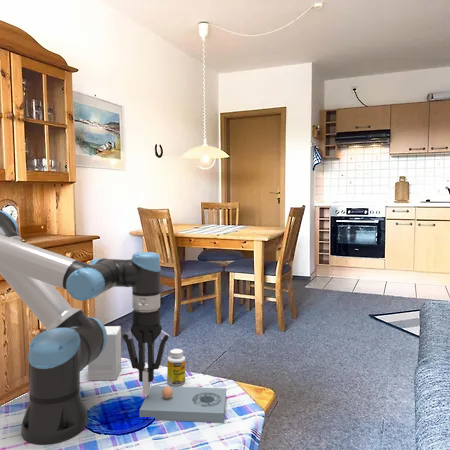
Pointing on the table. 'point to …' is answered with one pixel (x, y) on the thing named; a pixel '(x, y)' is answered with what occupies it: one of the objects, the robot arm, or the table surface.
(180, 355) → the supplement bottle
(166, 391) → the ball
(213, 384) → the table surface
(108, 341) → the supplement box
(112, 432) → the table surface
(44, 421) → the robot arm
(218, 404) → the plate
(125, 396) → the table surface
